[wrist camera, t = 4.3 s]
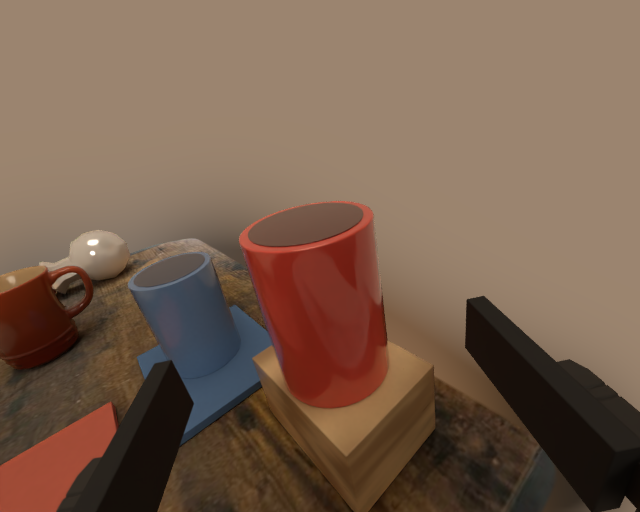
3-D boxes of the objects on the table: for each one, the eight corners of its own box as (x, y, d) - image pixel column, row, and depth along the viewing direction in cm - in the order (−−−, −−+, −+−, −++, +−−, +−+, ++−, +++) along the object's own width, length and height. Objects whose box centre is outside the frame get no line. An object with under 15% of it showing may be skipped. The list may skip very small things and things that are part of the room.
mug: (0, 392, 33) (-67, 317, 29) (9, 355, 39) (-45, 290, 35) (120, 333, 40) (80, 265, 35) (111, 310, 46) (76, 250, 42)
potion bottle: (146, 271, 62) (63, 315, 54) (123, 240, 65) (42, 278, 57) (129, 245, 54) (31, 292, 47) (105, 211, 57) (9, 251, 50)
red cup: (412, 355, 19) (403, 206, 15) (330, 434, 16) (287, 266, 11) (337, 314, 25) (315, 196, 21) (263, 366, 21) (216, 233, 17)
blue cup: (252, 348, 31) (221, 261, 27) (183, 392, 27) (134, 300, 23) (225, 320, 36) (196, 245, 32) (164, 354, 33) (121, 274, 28)
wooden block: (435, 428, 21) (434, 364, 18) (361, 521, 17) (346, 456, 15) (339, 359, 28) (328, 307, 26) (271, 412, 25) (251, 358, 22)
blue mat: (297, 361, 29) (295, 354, 29) (172, 451, 23) (168, 445, 23) (236, 309, 40) (235, 304, 39) (139, 362, 33) (136, 356, 33)
